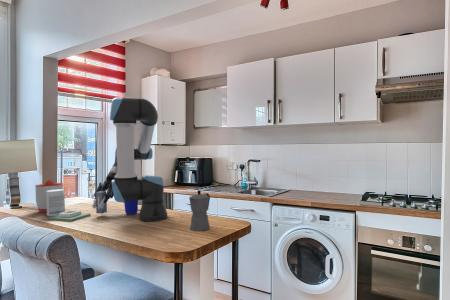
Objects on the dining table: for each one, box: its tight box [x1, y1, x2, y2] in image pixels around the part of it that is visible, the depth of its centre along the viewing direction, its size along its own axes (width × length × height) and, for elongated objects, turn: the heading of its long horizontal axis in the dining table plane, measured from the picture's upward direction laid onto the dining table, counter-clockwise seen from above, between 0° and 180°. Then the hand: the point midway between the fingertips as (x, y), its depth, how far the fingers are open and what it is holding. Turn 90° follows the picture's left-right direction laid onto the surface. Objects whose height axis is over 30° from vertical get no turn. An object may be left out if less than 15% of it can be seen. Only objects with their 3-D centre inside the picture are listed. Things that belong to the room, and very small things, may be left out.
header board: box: [48, 210, 92, 222], centre depth 171 cm, size 16×14×3 cm
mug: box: [123, 200, 141, 215], centre depth 178 cm, size 8×12×10 cm
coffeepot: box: [188, 189, 211, 233], centre depth 142 cm, size 15×9×18 cm, turn 151°
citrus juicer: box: [34, 179, 64, 214], centre depth 193 cm, size 16×17×20 cm
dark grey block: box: [95, 190, 108, 214], centre depth 174 cm, size 4×4×12 cm
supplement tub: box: [46, 188, 66, 217], centre depth 180 cm, size 10×10×15 cm
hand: (97, 207), depth 170 cm, fingers closed on dark grey block, 4 cm apart
